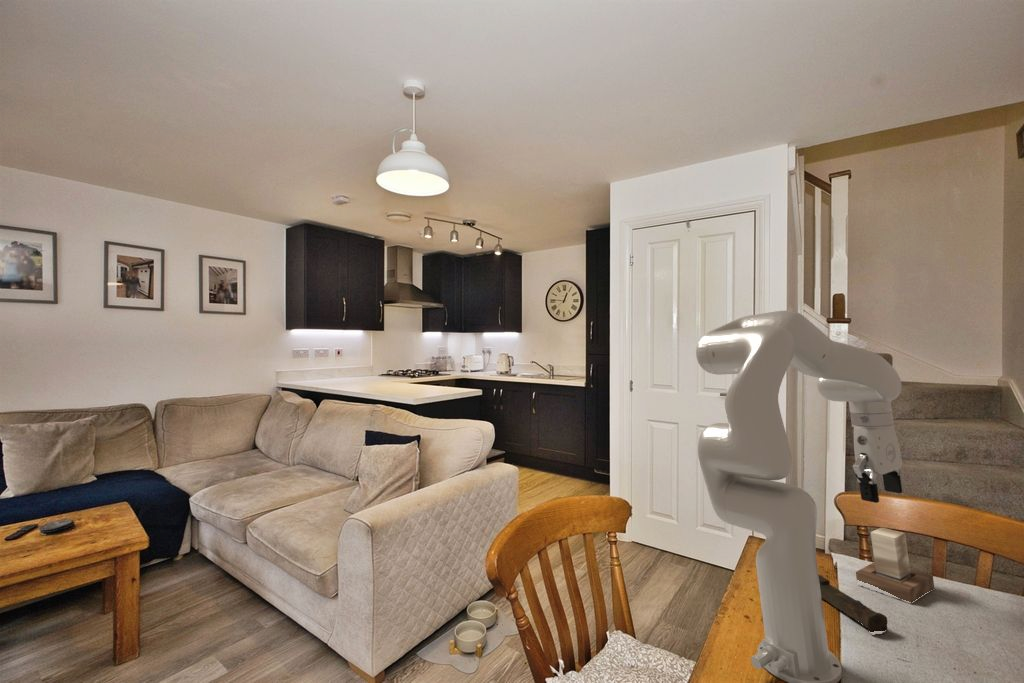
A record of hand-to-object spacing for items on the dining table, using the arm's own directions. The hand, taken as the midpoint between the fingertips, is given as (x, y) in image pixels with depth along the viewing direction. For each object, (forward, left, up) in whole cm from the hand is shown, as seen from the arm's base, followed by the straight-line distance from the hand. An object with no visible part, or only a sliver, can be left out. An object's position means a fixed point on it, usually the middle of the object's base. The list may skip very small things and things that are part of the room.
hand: (882, 496), depth 101 cm
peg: (0, 0, -20) cm, 20 cm away
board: (0, 0, -20) cm, 20 cm away
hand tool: (-18, +2, -20) cm, 27 cm away
